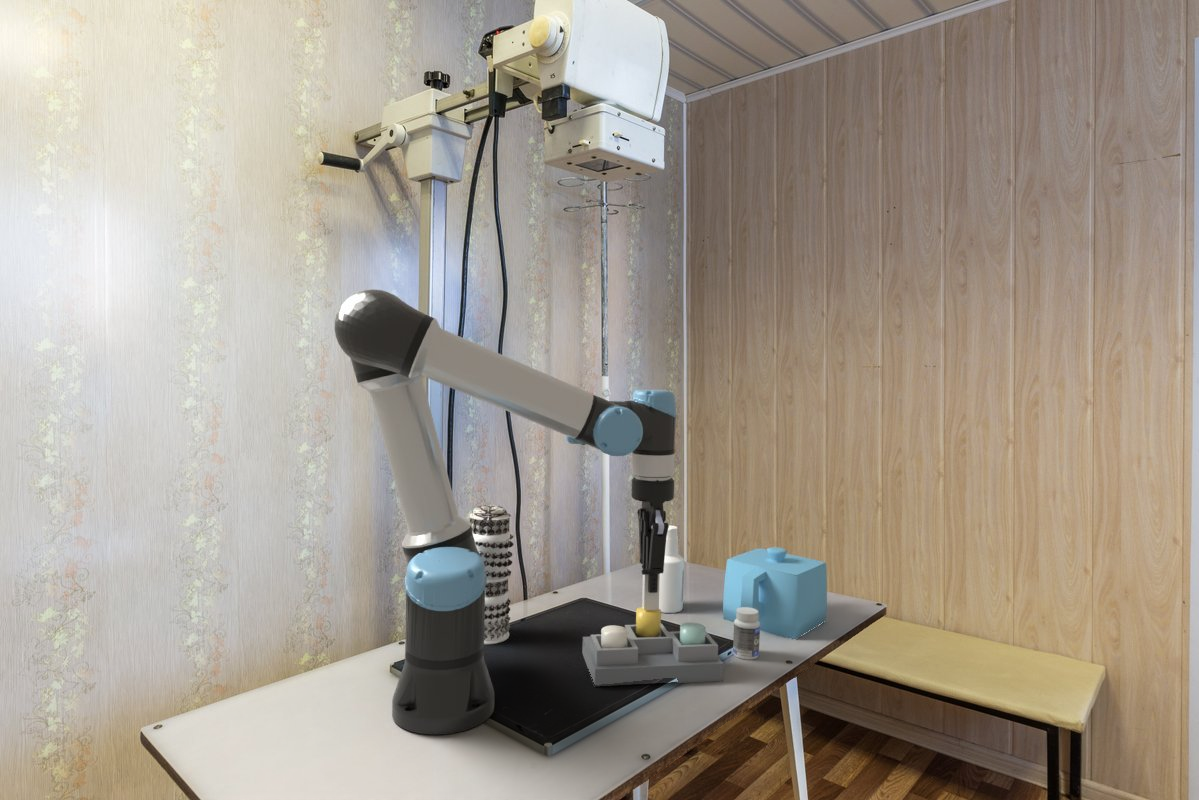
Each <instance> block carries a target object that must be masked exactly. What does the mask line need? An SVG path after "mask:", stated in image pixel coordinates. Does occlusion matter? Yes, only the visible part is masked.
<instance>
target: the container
mask: <svg viewBox="0 0 1199 800" xmlns="http://www.w3.org/2000/svg"><path fill="white" fill-rule="evenodd" d="M787 551H788V550H787V549H785V548H784V547H779V546H776V547H775V546H773V547H768V548H767V549H765V548H761V547H758V548H755V549H752V550H749V551H746V552H743V553H741V554H738V555H735V556H732V557H730V558H727V559H726V564H725V565H726V567H725V575H724V576H725V577H724V585H723V587H724V588H723V600H722V601H723V602H722V603H723V604H722V610H723V611H722V614H723V619H724V620H727V621H730V622H733V623H734V621H735V619H737V617H736V612H737V609H738V608H741V607H749V608H754V609H756V610H758V614H759V618H758V621H759V623H760V632H765V633H769V634H773V635H776V636H779V637H783V638H786V637H787V639H790V638H791V639H790V640H794V639H796V638H798V637H800V636H801V635H803V634H804V633H806V632H808V631H809V630H811V629H813V628H814V627H816V626H818V625H819V624H821V623H822V622H824V621H825V622H826V618H827V609H828V608H827V606H828V605H827V604H828V583H827V582H828V576H827V574H828V573H827V571H828V570H827V562H824V561H820V560H817V559H813V558H807V557H804V556H800V555H795V554H791V553H788V552H787ZM803 636H804V635H803ZM801 637H802V636H801ZM801 637H800V638H801ZM798 639H799V638H798ZM796 640H797V639H796Z"/></svg>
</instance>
